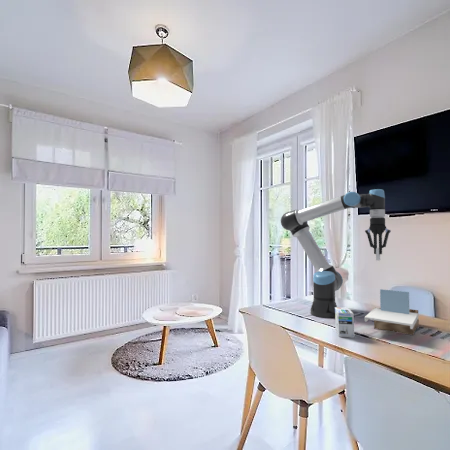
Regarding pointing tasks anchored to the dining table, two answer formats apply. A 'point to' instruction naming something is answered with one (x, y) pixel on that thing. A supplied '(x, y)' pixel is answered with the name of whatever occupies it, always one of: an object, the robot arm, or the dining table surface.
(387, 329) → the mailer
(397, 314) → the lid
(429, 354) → the dining table surface
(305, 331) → the dining table surface
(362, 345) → the dining table surface
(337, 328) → the light bulb box
